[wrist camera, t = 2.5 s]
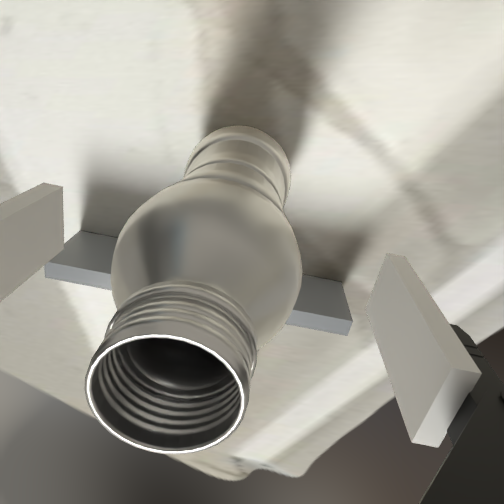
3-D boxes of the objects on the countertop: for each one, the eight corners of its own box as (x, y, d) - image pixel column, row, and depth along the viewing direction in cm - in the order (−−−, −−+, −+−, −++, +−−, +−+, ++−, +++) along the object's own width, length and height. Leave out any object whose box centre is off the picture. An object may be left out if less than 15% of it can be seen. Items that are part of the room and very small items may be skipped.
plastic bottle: (174, 176, 27) (-34, 407, 9) (235, 96, 24) (119, 192, 6) (246, 233, 28) (191, 527, 11) (310, 163, 26) (384, 391, 8)
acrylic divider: (79, 230, 29) (44, 261, 25) (341, 282, 30) (352, 321, 25) (80, 244, 30) (45, 277, 25) (337, 295, 30) (347, 335, 26)
